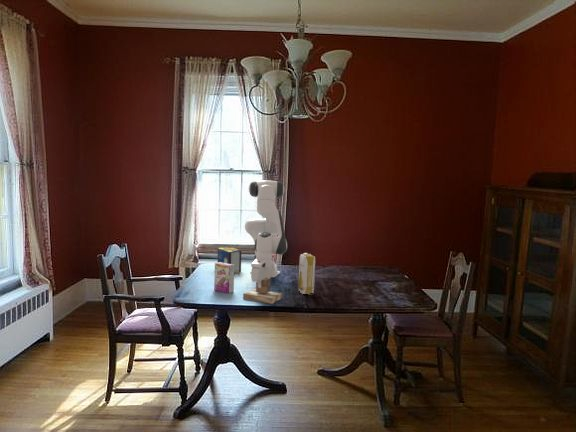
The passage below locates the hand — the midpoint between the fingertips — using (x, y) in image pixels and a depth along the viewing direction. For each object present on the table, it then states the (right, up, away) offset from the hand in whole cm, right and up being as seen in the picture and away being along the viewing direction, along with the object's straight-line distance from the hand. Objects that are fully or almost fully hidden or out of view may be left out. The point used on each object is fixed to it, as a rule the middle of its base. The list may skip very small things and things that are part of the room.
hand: (262, 286), depth 238 cm
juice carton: (+25, -7, +15) cm, 30 cm away
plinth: (0, -7, +1) cm, 7 cm away
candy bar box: (-24, -5, +12) cm, 27 cm away
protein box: (-28, 0, +63) cm, 68 cm away
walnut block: (0, -3, 0) cm, 3 cm away
